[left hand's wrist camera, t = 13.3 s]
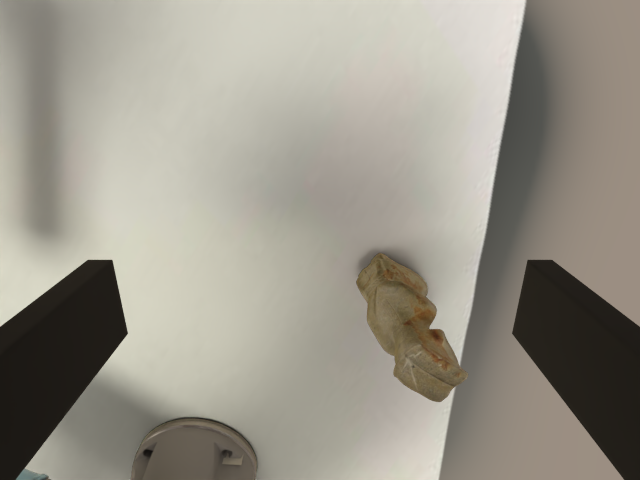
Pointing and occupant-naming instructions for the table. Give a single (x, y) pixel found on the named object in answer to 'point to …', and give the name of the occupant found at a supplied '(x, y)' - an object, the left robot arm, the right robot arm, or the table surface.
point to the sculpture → (409, 328)
